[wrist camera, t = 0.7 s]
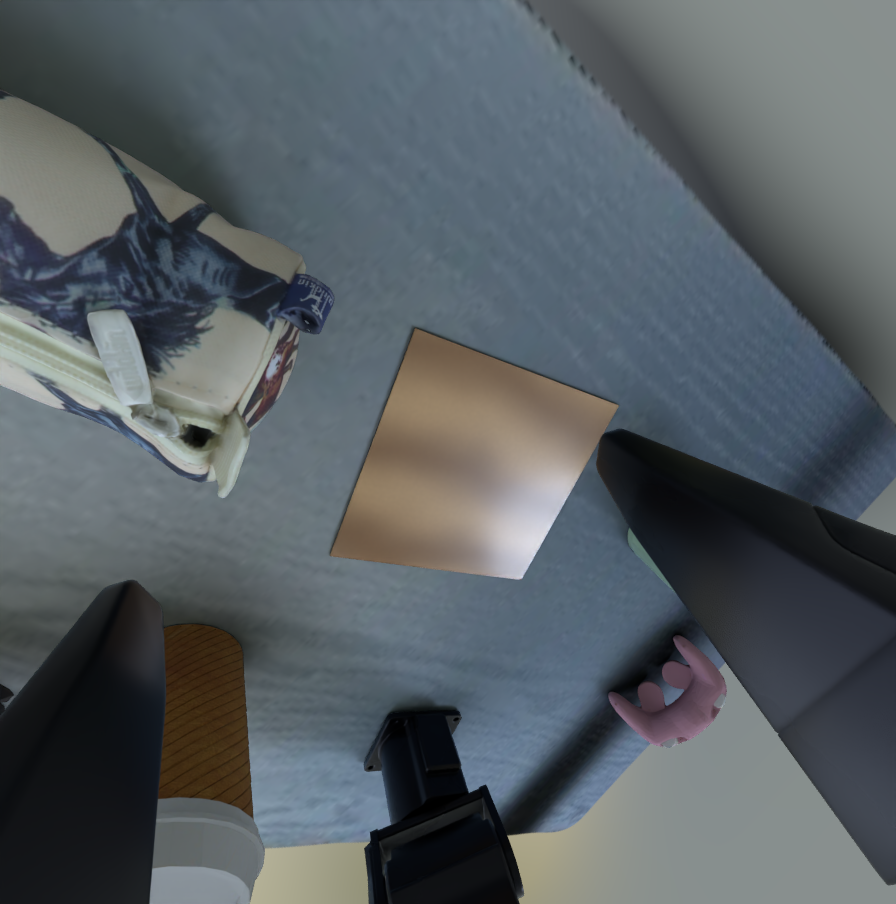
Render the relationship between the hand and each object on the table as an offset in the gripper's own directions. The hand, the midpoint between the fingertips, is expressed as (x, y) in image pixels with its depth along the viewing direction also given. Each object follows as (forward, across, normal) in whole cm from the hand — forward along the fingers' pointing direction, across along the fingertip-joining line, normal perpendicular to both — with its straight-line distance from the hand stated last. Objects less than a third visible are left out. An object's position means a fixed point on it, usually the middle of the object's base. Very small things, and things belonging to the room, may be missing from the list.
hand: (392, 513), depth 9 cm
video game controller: (+7, -20, +41) cm, 47 cm away
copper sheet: (+12, -6, +13) cm, 19 cm away
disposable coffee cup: (+11, +14, +19) cm, 26 cm away
